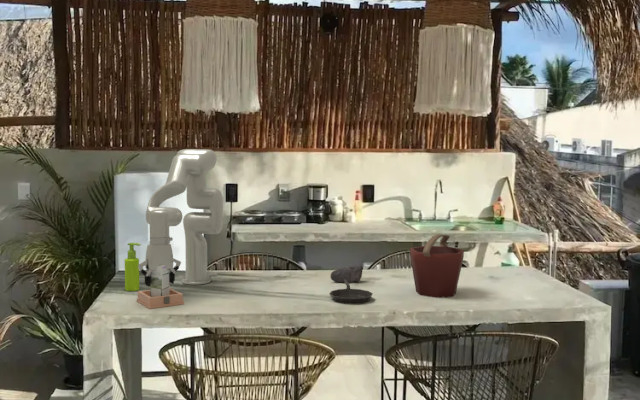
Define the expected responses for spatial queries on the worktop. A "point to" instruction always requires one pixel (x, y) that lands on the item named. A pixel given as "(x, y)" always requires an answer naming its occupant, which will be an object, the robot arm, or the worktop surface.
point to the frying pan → (350, 295)
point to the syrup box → (159, 282)
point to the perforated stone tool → (347, 274)
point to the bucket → (436, 268)
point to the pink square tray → (160, 299)
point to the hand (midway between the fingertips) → (159, 284)
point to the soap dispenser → (132, 269)
